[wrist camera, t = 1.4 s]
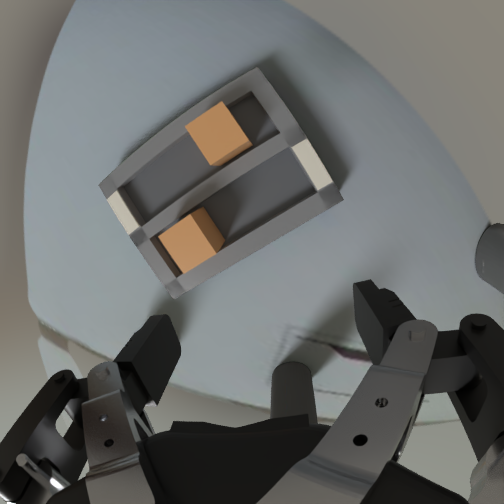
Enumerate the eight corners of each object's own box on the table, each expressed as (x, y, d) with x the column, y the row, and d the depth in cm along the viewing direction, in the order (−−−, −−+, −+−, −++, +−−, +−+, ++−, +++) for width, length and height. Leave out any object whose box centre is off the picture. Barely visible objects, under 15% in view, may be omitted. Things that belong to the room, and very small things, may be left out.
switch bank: (259, 77, 27) (257, 66, 23) (336, 196, 30) (344, 200, 27) (113, 182, 32) (97, 185, 28) (182, 287, 35) (173, 300, 32)
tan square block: (230, 111, 26) (222, 101, 22) (253, 145, 27) (248, 140, 23) (199, 132, 27) (184, 126, 23) (220, 165, 28) (210, 165, 23)
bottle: (271, 361, 38) (268, 447, 23) (312, 360, 37) (325, 445, 23) (271, 389, 39) (267, 470, 25) (309, 388, 39) (317, 468, 24)
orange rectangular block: (203, 206, 30) (190, 213, 25) (225, 240, 31) (216, 253, 26) (175, 225, 30) (158, 236, 26) (196, 258, 31) (183, 274, 27)
